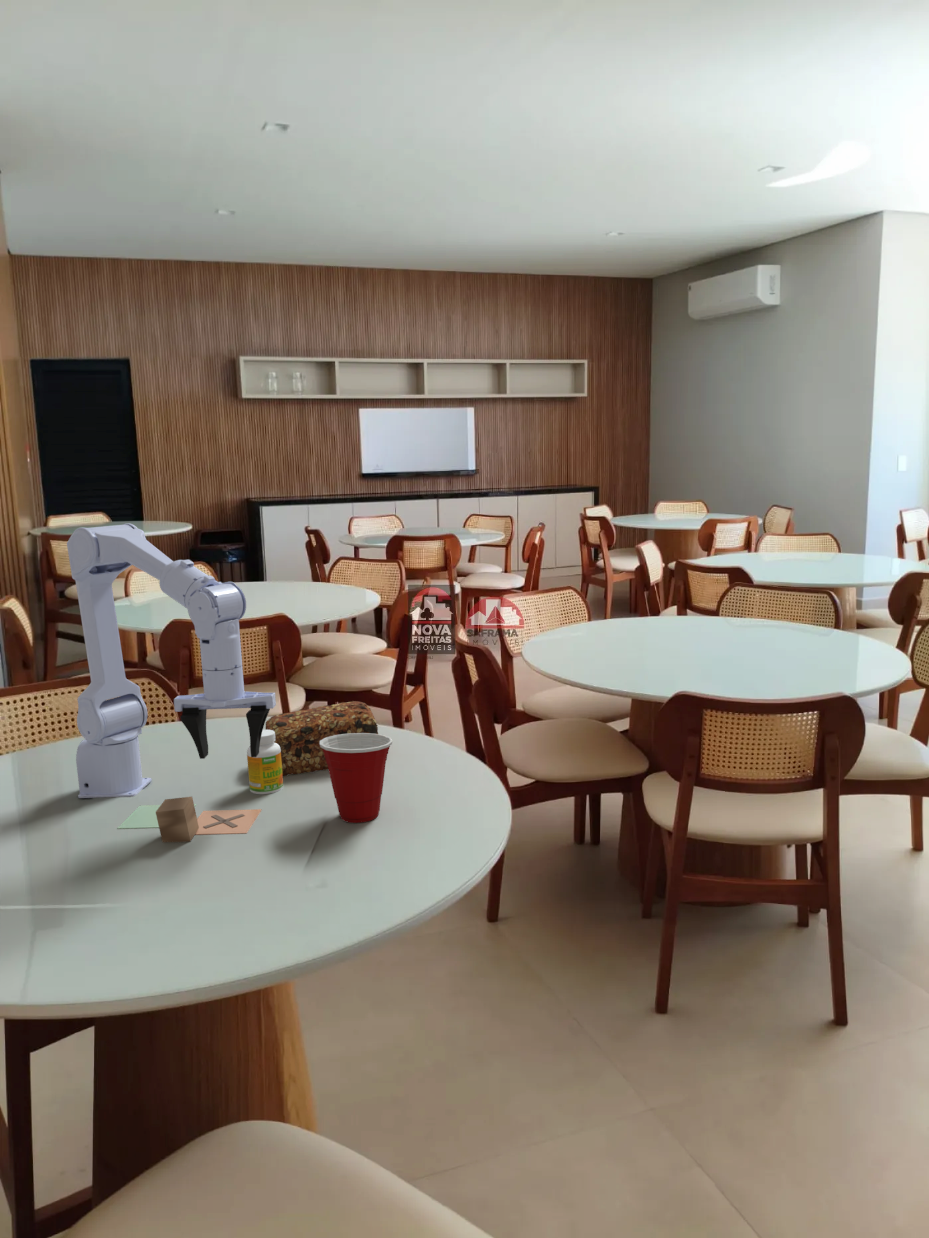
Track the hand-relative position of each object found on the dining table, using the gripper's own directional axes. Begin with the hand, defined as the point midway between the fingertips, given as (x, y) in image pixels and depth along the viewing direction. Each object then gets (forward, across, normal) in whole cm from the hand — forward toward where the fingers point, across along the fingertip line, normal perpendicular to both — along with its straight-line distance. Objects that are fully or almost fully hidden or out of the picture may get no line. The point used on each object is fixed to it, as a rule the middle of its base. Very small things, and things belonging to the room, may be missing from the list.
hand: (229, 755), depth 136 cm
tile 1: (+10, -12, +1) cm, 16 cm away
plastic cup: (+10, +19, 0) cm, 22 cm away
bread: (+10, +9, +26) cm, 29 cm away
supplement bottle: (+10, +2, +12) cm, 16 cm away
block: (+10, -6, -7) cm, 13 cm away
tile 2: (+10, -1, -2) cm, 10 cm away
